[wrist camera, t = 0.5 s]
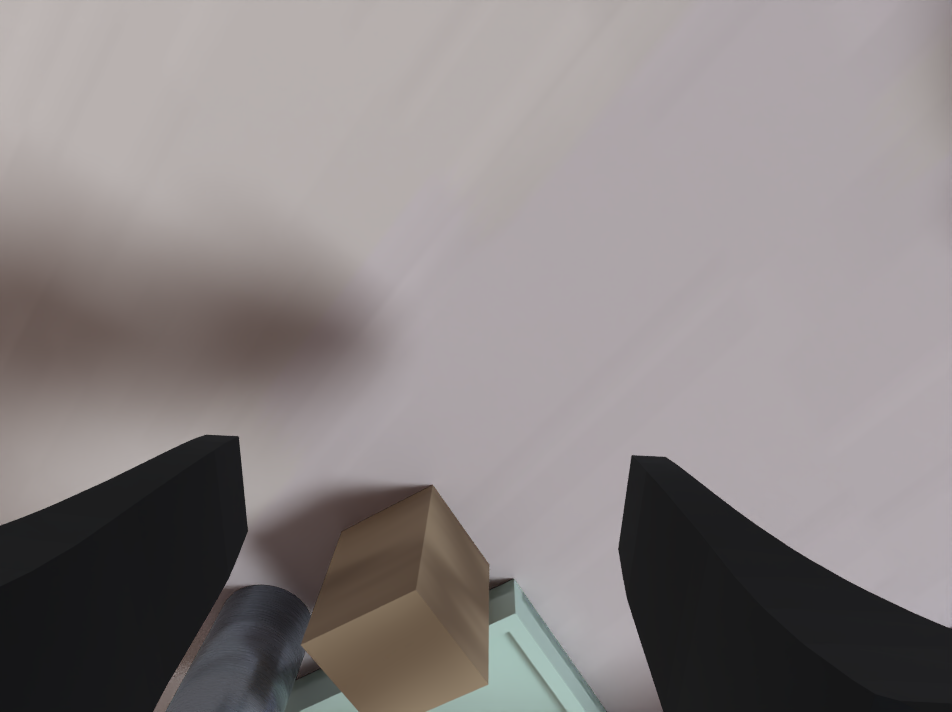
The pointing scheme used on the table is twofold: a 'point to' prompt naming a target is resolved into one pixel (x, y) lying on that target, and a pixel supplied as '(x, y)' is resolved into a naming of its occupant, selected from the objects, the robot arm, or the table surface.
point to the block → (404, 610)
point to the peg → (247, 655)
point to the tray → (491, 669)
